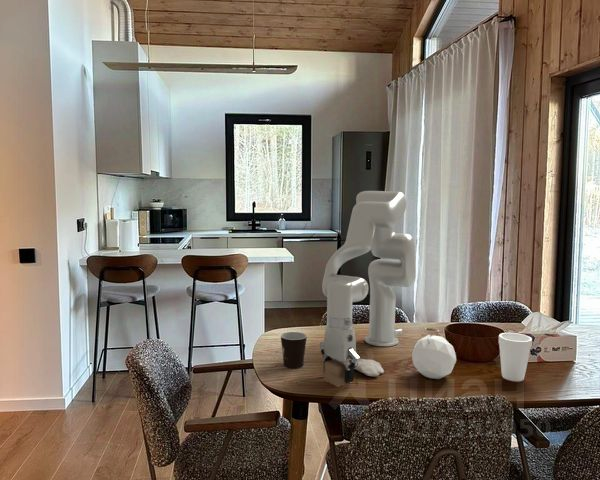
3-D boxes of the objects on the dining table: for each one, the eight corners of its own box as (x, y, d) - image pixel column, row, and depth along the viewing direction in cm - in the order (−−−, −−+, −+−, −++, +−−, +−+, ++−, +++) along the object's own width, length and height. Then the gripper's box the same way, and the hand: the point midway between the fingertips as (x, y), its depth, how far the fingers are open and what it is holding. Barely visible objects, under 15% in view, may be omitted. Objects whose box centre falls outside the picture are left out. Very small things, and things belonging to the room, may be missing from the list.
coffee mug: (303, 370, 160) (304, 340, 159) (277, 368, 161) (277, 338, 160) (310, 358, 171) (310, 330, 170) (285, 356, 173) (286, 328, 172)
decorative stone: (383, 382, 153) (382, 369, 167) (385, 370, 153) (384, 358, 167) (348, 374, 154) (350, 362, 169) (350, 362, 154) (352, 351, 169)
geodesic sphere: (450, 373, 143) (456, 329, 150) (403, 365, 149) (411, 323, 156) (455, 388, 154) (461, 346, 161) (411, 380, 161) (419, 340, 167)
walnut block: (339, 376, 156) (339, 358, 155) (352, 382, 151) (352, 363, 150) (324, 380, 152) (324, 361, 151) (337, 387, 147) (337, 367, 147)
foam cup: (526, 385, 150) (529, 343, 148) (494, 379, 155) (496, 338, 153) (531, 375, 158) (533, 335, 156) (500, 369, 163) (502, 330, 161)
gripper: (368, 326, 145) (367, 383, 147) (330, 313, 159) (329, 365, 160) (349, 330, 140) (348, 389, 142) (311, 317, 154) (311, 370, 156)
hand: (338, 376), depth 151 cm, fingers open, 9 cm apart
